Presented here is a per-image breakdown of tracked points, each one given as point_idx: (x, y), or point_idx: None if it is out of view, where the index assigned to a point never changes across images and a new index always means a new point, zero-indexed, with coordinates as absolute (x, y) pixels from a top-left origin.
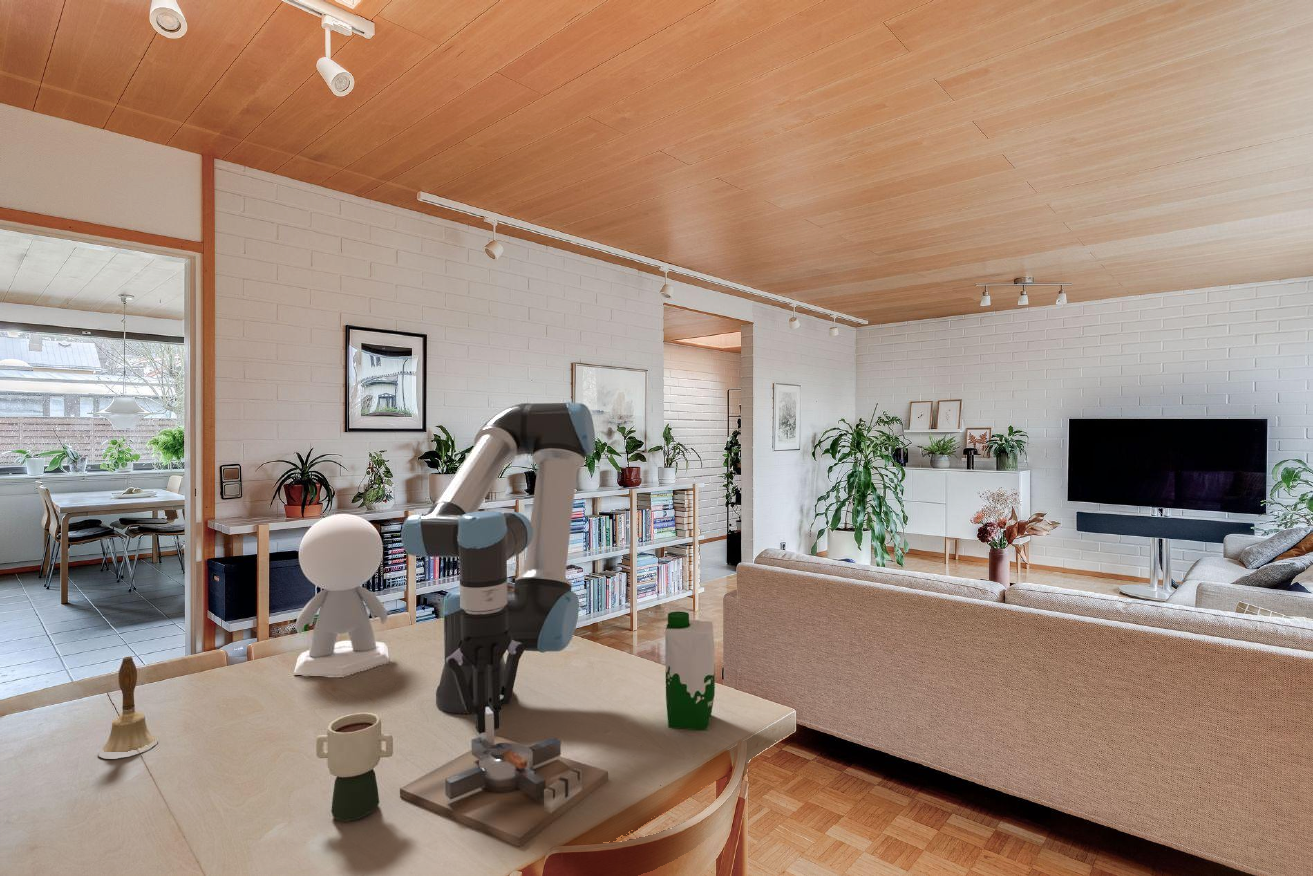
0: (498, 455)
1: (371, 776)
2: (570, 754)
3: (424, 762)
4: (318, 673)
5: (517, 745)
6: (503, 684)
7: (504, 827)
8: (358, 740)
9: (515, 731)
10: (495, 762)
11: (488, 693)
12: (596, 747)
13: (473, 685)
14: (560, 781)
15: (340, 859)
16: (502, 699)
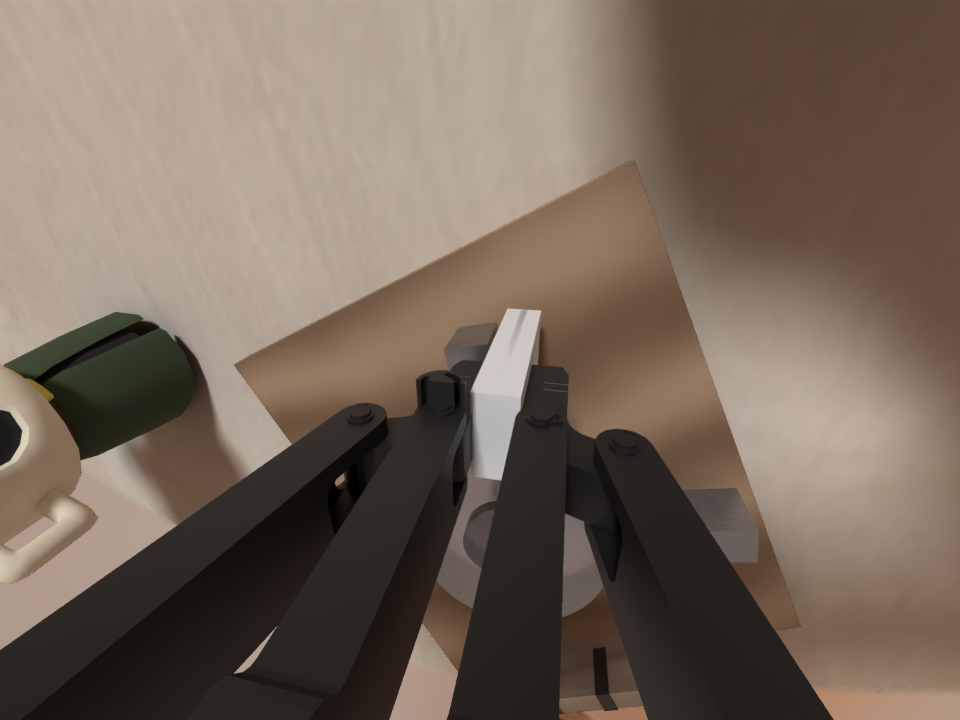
0: None
1: (98, 447)
2: (818, 429)
3: (322, 167)
4: None
5: (579, 524)
6: (627, 563)
7: (443, 637)
8: None
9: (781, 68)
10: (464, 570)
11: (505, 465)
12: (946, 443)
13: (348, 521)
14: (595, 703)
15: (160, 503)
16: (585, 517)
